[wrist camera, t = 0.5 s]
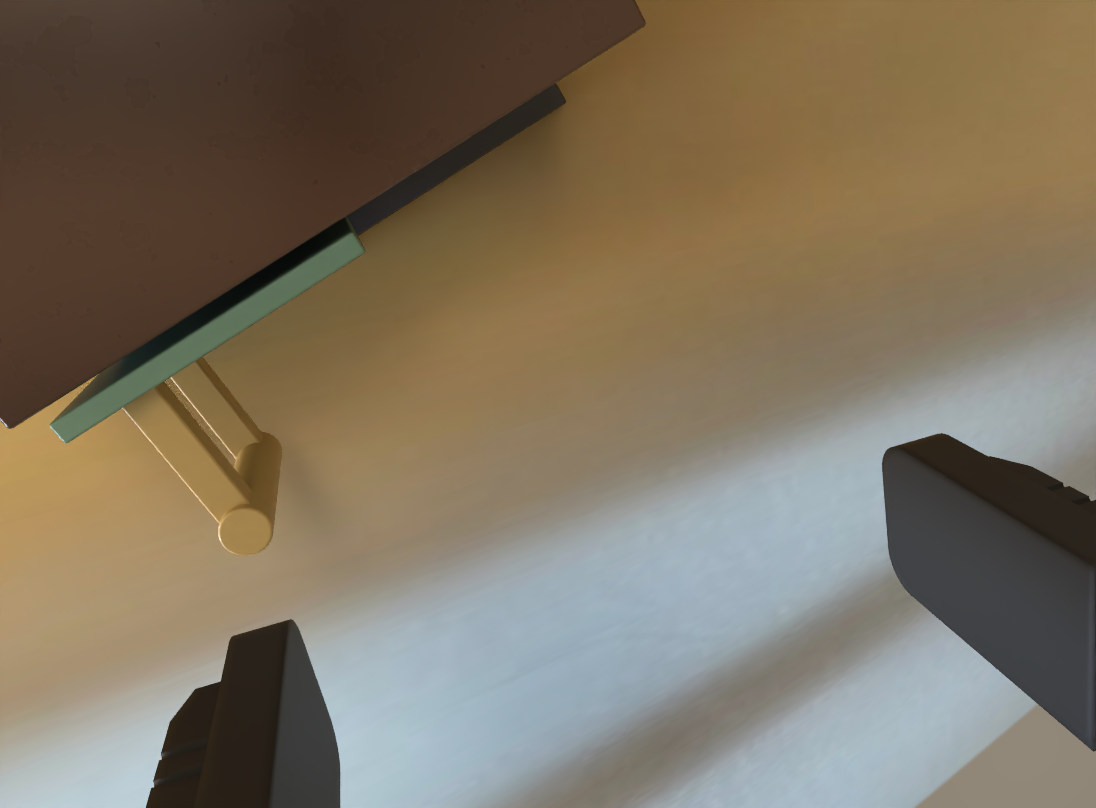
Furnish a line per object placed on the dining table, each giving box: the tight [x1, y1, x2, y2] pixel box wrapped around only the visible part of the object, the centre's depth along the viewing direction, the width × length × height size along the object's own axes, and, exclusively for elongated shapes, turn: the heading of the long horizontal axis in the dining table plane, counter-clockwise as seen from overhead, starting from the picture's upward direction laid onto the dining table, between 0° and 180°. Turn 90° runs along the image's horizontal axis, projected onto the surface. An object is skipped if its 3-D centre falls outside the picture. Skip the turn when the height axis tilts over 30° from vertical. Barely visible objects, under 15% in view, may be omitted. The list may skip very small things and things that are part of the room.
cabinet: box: [0, 0, 646, 429], centre depth 25 cm, size 12×18×11 cm
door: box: [50, 216, 365, 556], centre depth 27 cm, size 6×9×10 cm
